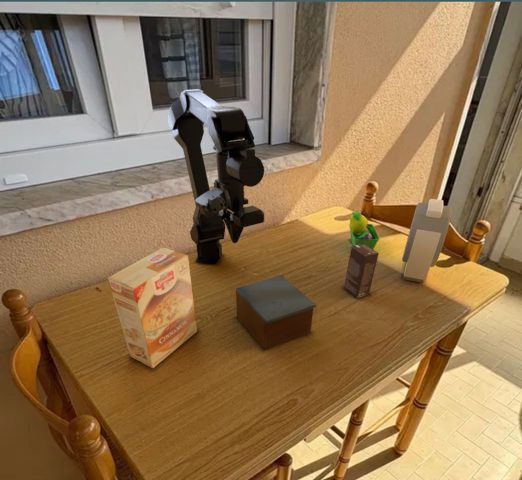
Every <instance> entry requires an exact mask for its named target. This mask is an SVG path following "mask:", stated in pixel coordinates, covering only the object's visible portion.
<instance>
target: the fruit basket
mask: <svg viewBox="0 0 522 480" xmlns="http://www.w3.org/2000/svg"><path fill="white" fill-rule="evenodd" d="M348 226H349V231H350V232H349V233H350V241H351V244H352V246H355V245H360V244H365V245H367V246H368V247H370V248H372V249H373V250H375V247H376V245H377V243H378V242H379V240H380V237H379V235H378V232H377V231H376V228H375V226H374V224H372V223H369V220H368V218H366V217H365V216H364V215H362V213H361V212H360V211H352V212H351V215H350V216H349V224H348Z"/></svg>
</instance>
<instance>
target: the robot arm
mask: <svg viewBox="0 0 522 480" xmlns="http://www.w3.org/2000/svg"><path fill="white" fill-rule="evenodd" d="M248 121H249V120H248V118H247V116H246V115H245V113H244V111H243V110H242V109H241V108H240V107H236V106H224V105H221V104H220V103H218V102H217V101H215V100H214V99H212V98H211V97H210V96H208V95H207V94H206V93H205V92H204V90H201V89H184V90H183V91H181V92H180V95H179V98H177V99H176V100H175V101H174V102H173V103H172V104H171V105H170V107H169V110H168V115H167V123H168V127H169V130H170V131H171V132H172V136H173V139H174V141H176V142H177V144H178V145H179V146H180V148H181V149H182V151H183V156H184V161H185V164H186V170H187V172H188V178H189V182H190V187H191V191H192V195H193V200H194V204H195V208H194V212H193V215H192V223H193V224H192V226H191V229H190V231H189V235H190V239H191V241H193V243H194V244H195V246H196V255H197V257H196V259H195V263H201V264H208V265H218V263H219V262H220V260H221V259H222V257H223V247H222V245H223V244H222V242H220V240H225V236H226V235H225V234H226V229H227V232H228V235H229V237H230V240H231V243H233V244H237V243H238V242H239V240H240V237H241V235H242V233H243V230H244V228H247V227H251V226H256V225H259V224H263V223H265V212H264V211H263V210H262V209H260V208H259V207H257V206H255V205H249V206H245V205H248V204H249V199H248V198H247V197H245V187H248V188H253V187H256V186H258V185H259V184H260V183H261V181H262V180H263V178H264V175H265V166H264V163H263V161H262V160H261V158H260V157H258V156H256V149H255V148H256V144H255V141H254V140H255V137H254V134H253V132H252V130H251V129H252V128H251V127H250V124H249V122H248ZM204 125H206V127H207V134H208V136H210V138H211V140H212V142H213V147H212V148H213V151H215V160H216V171H217V179H214V182H213V188H212V189H211V188H210V184H209V183H210V182H209V179H208V174H207V169H206V164H205V159H204V155H203V149H202V145H201V144H202V140H203V137H204V134H205V129H204Z"/></svg>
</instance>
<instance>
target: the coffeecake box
mask: <svg viewBox="0 0 522 480" xmlns="http://www.w3.org/2000/svg"><path fill="white" fill-rule="evenodd" d="M107 280H108V284H109V287H110V291H111V295H112V298H113V301H114V305H115V309H116V313H117V317H118V319H119V323H120V327H121V330H122V333H123V336H124V340H125V344H126V347H127V351H128V353H129V357H130V358H131V359H134V360H136V361H138V362H141V363H142V364H144V365H145V366H147V367H149V368H151V369H155V367H157V366H158V365H159V364H160V363H161V362H162V361H163V360H165V359H166V358H167V357H168V356H169V355H171V354H172V353H174V351H176V350H177V349H178V348H179V347H181V345H183V344H184V343H185V342H186V341H188V339H190V338H191V337H192V336H194V335H195V334H196V333H198V326H197V318H196V312H195V311H196V310H195V302H194V294H193V287H192V286H193V285H192V278H191V270H190V261H189V255H188V254H185V253H182V252H179V251H176V250H173V249H170V248H167V247H164V246H163V247H160V248H159V249H158V250H155V251H154V252H152V253H150V254H148V255H146V256H145V257H143V258H141V259H139V260H137V261H135V262H134V263H132V264H130V265H128V266H126V267H125V268H123V269H121V270H119V271H117V272H115V273H114V274H112V275H110V276H108V277H107Z"/></svg>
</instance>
